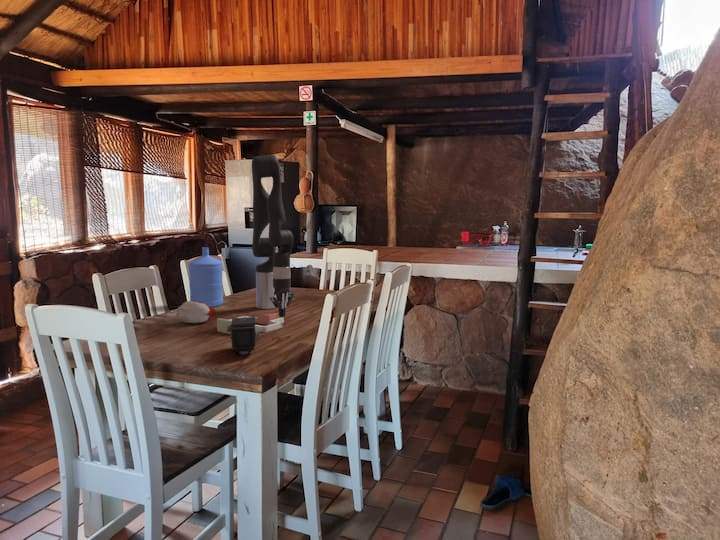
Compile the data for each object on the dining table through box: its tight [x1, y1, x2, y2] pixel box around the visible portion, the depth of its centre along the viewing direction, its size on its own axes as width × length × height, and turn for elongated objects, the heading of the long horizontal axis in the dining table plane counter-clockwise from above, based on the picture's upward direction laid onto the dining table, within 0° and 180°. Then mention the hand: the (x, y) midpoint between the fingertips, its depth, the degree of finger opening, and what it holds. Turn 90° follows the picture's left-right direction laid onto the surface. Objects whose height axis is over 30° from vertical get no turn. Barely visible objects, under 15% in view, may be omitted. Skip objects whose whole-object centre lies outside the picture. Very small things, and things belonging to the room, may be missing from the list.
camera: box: [227, 316, 261, 355], centre depth 181 cm, size 11×11×15 cm
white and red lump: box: [175, 300, 216, 324], centre depth 226 cm, size 9×11×15 cm
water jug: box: [188, 246, 224, 308], centre depth 263 cm, size 16×16×28 cm
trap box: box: [216, 315, 285, 335], centre depth 218 cm, size 27×22×5 cm
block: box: [257, 311, 279, 326], centre depth 226 cm, size 6×6×4 cm
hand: (282, 316), depth 233 cm, fingers closed
